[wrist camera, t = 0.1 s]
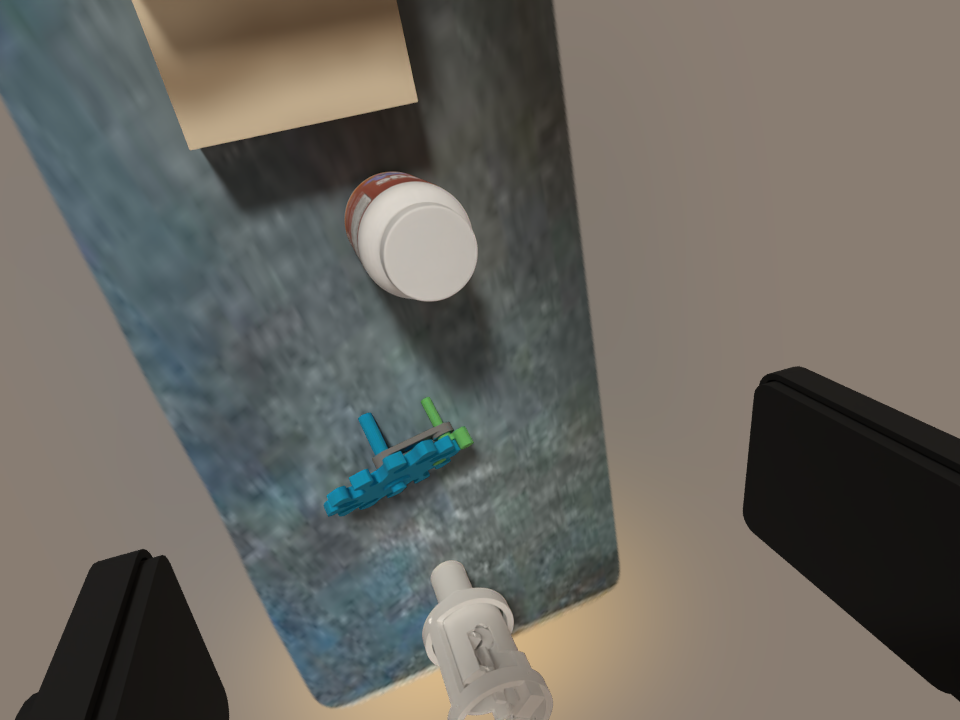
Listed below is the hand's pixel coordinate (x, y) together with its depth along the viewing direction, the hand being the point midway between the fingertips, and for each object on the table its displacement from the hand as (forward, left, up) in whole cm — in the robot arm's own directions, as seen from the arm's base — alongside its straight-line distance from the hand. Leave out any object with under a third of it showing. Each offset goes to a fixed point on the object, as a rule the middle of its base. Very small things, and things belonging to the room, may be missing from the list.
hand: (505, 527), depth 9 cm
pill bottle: (-2, +3, -31) cm, 31 cm away
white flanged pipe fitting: (+21, +23, -31) cm, 44 cm away
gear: (+12, +12, -31) cm, 36 cm away
